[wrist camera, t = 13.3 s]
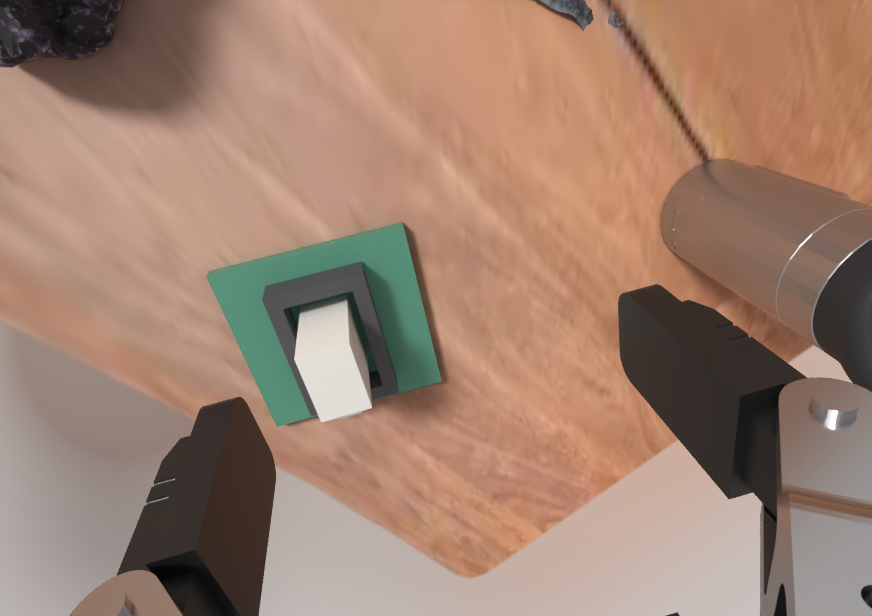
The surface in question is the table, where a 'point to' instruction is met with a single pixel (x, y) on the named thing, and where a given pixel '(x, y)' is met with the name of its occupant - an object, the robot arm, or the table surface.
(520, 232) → the table surface
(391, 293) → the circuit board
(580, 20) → the driftwood
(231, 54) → the table surface
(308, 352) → the plug
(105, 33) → the crystal cluster
